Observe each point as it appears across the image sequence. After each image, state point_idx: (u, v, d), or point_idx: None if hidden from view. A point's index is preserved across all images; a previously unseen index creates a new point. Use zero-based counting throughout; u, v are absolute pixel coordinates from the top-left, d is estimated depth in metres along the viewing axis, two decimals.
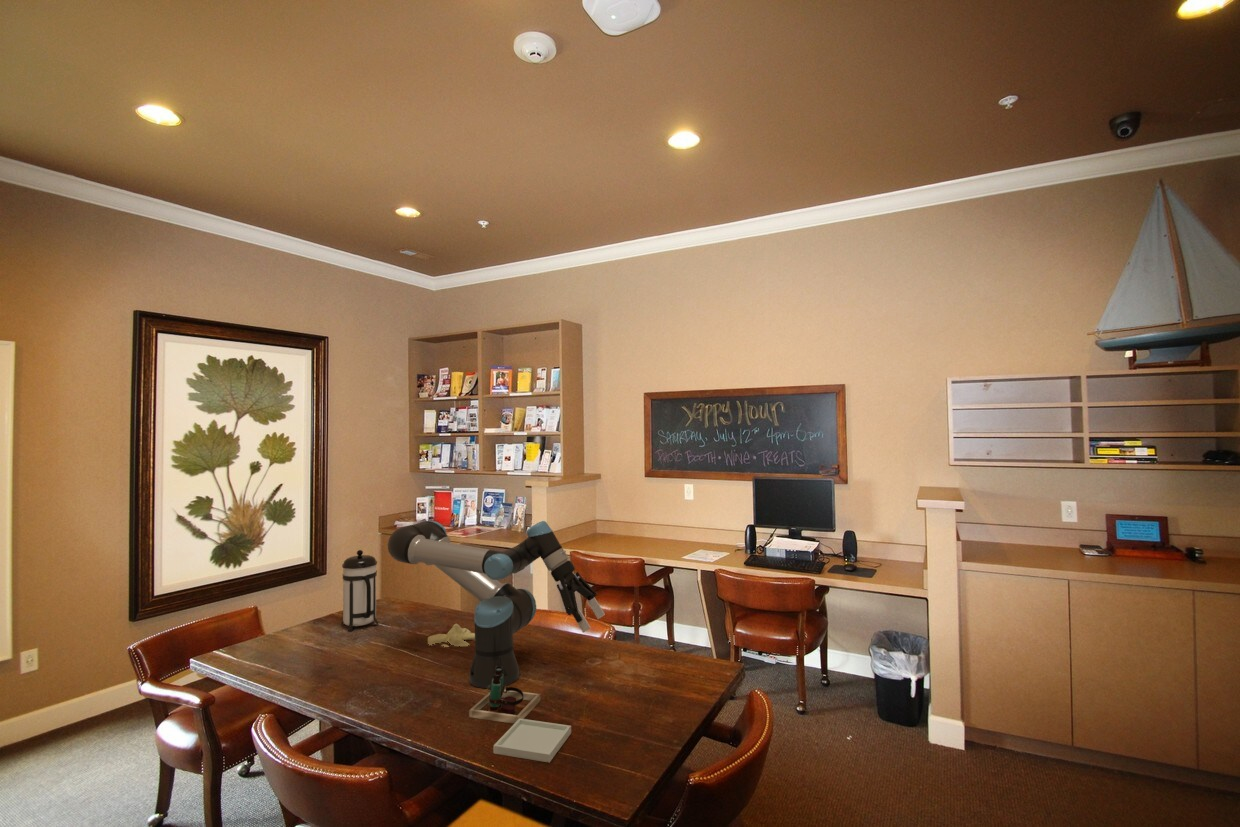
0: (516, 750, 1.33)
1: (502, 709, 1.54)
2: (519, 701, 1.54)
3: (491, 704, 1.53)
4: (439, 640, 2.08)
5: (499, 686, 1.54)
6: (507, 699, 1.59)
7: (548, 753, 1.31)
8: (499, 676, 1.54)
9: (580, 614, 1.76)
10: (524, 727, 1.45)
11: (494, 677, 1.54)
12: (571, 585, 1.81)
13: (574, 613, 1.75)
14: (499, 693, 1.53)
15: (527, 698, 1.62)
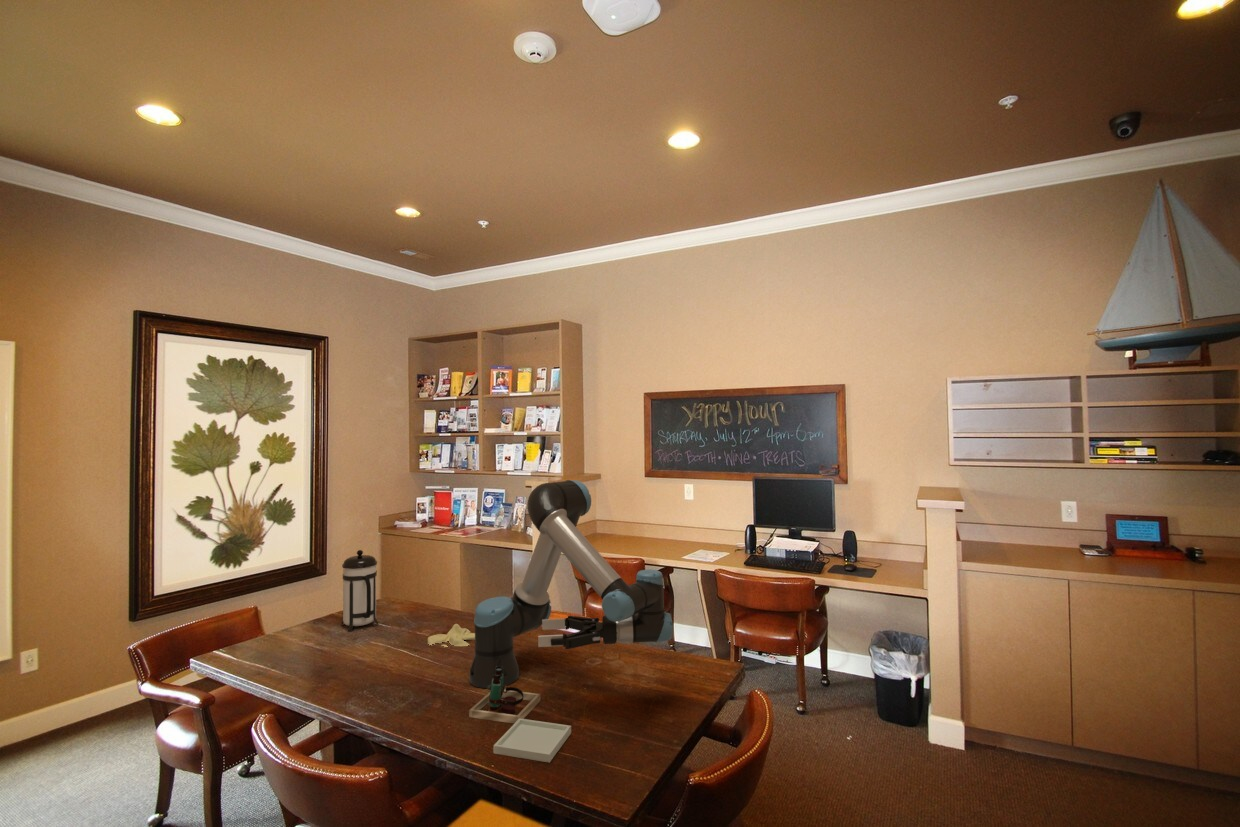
0: (516, 750, 1.33)
1: (502, 709, 1.54)
2: (519, 701, 1.54)
3: (491, 704, 1.53)
4: (439, 640, 2.08)
5: (499, 686, 1.54)
6: (507, 699, 1.59)
7: (548, 753, 1.31)
8: (499, 676, 1.54)
9: (557, 644, 1.51)
10: (524, 727, 1.45)
11: (494, 677, 1.54)
12: None
13: (561, 642, 1.50)
14: (499, 693, 1.53)
15: (527, 698, 1.62)
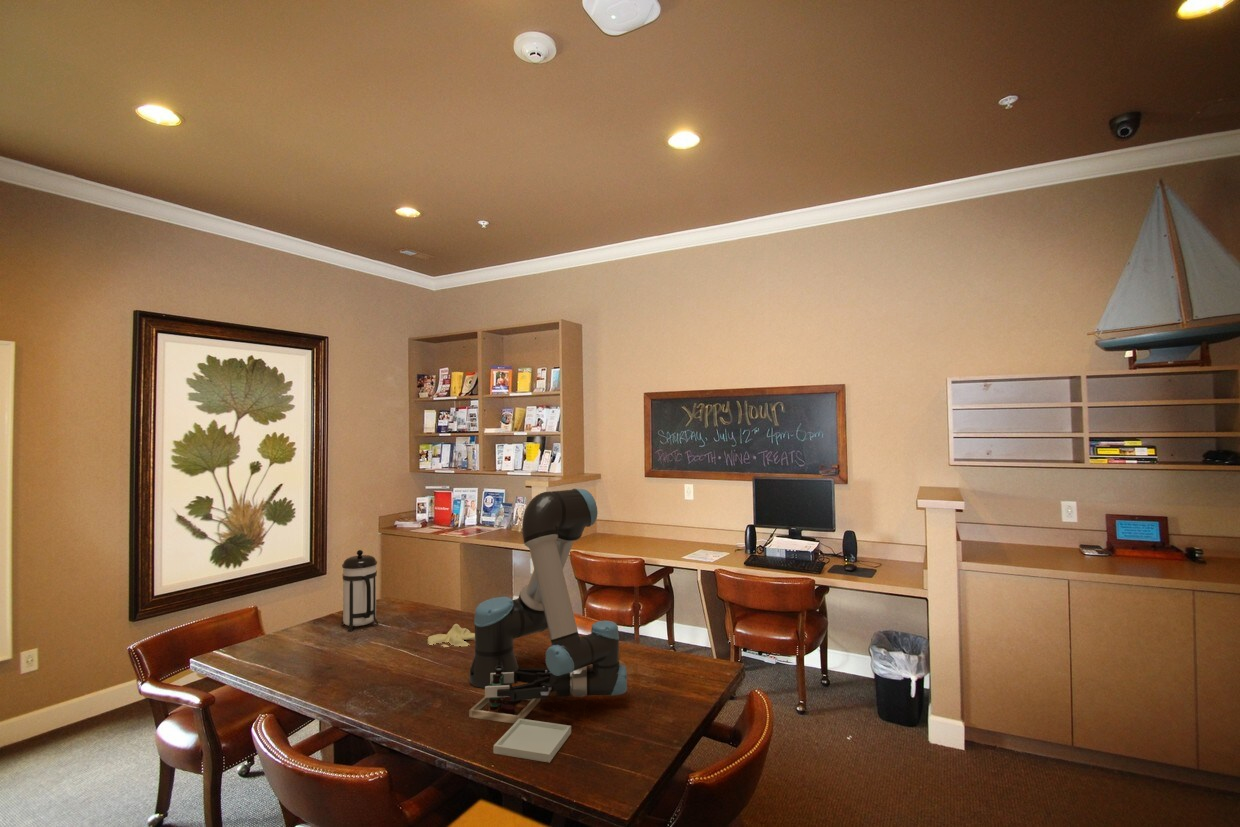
0: (516, 750, 1.33)
1: (502, 709, 1.54)
2: (519, 701, 1.54)
3: (491, 704, 1.53)
4: (439, 640, 2.08)
5: None
6: (507, 699, 1.59)
7: (548, 753, 1.31)
8: (499, 676, 1.54)
9: None
10: (524, 727, 1.45)
11: (494, 677, 1.54)
12: None
13: (508, 693, 1.52)
14: None
15: None
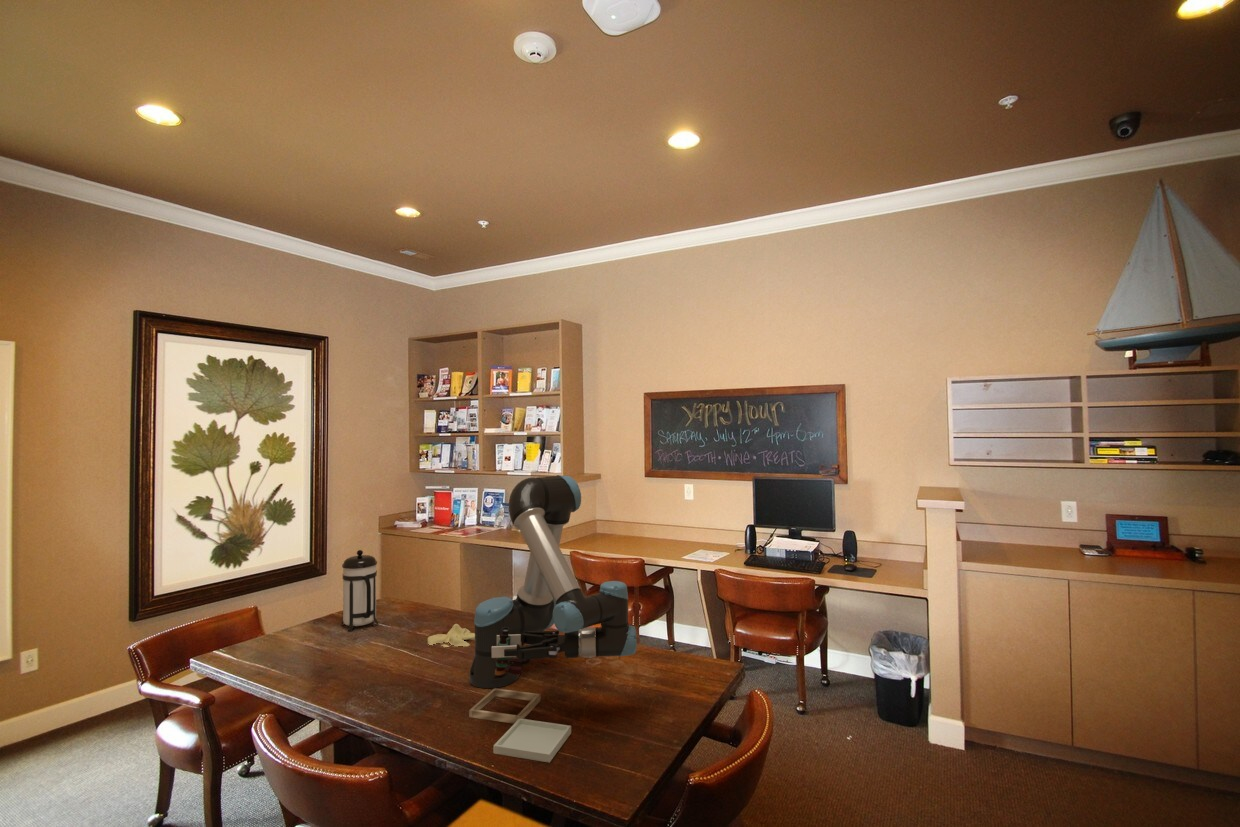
0: (516, 750, 1.33)
1: (509, 669, 1.50)
2: (526, 661, 1.51)
3: (498, 664, 1.49)
4: (439, 640, 2.08)
5: None
6: (514, 661, 1.56)
7: (548, 753, 1.31)
8: (506, 636, 1.51)
9: None
10: (524, 727, 1.45)
11: (501, 637, 1.51)
12: None
13: (515, 653, 1.48)
14: None
15: (527, 698, 1.62)
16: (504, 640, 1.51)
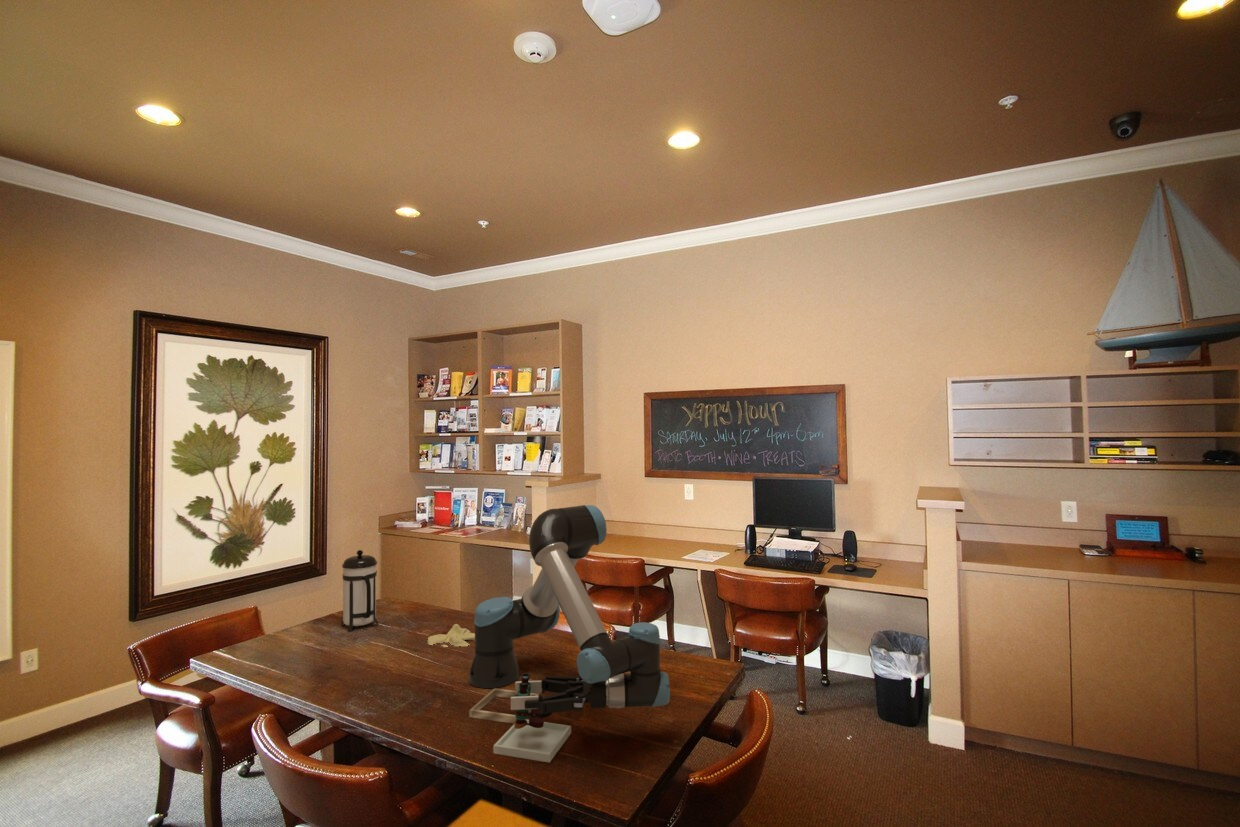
0: (516, 750, 1.33)
1: (530, 722, 1.36)
2: (549, 713, 1.37)
3: (518, 717, 1.35)
4: (439, 640, 2.08)
5: None
6: (535, 710, 1.42)
7: (548, 753, 1.31)
8: (526, 685, 1.37)
9: None
10: (524, 727, 1.45)
11: (521, 686, 1.37)
12: (574, 703, 1.38)
13: (537, 705, 1.34)
14: None
15: None
16: (524, 689, 1.37)
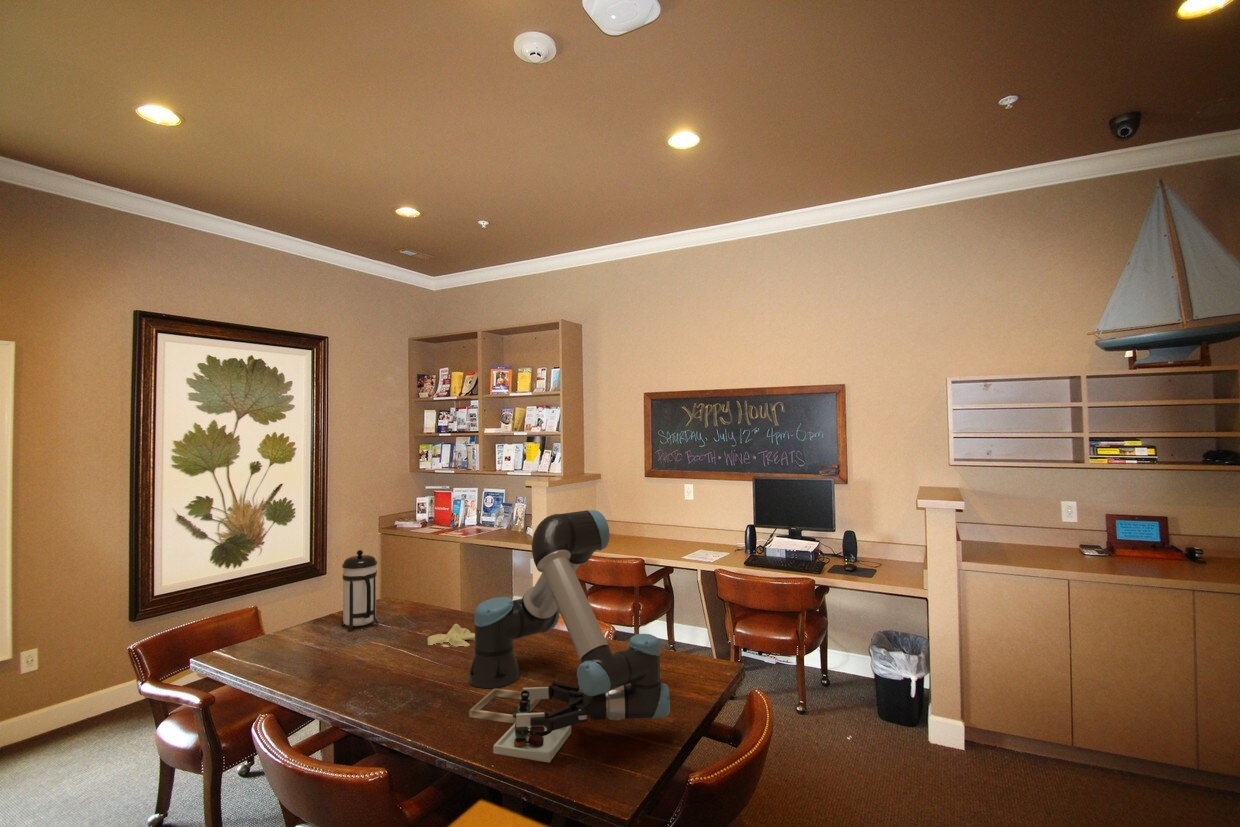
0: (516, 750, 1.33)
1: (530, 740, 1.36)
2: None
3: (517, 735, 1.35)
4: (439, 640, 2.08)
5: None
6: (534, 728, 1.42)
7: (548, 753, 1.31)
8: (526, 703, 1.37)
9: None
10: None
11: (521, 704, 1.37)
12: None
13: (543, 722, 1.32)
14: None
15: None
16: (524, 707, 1.37)
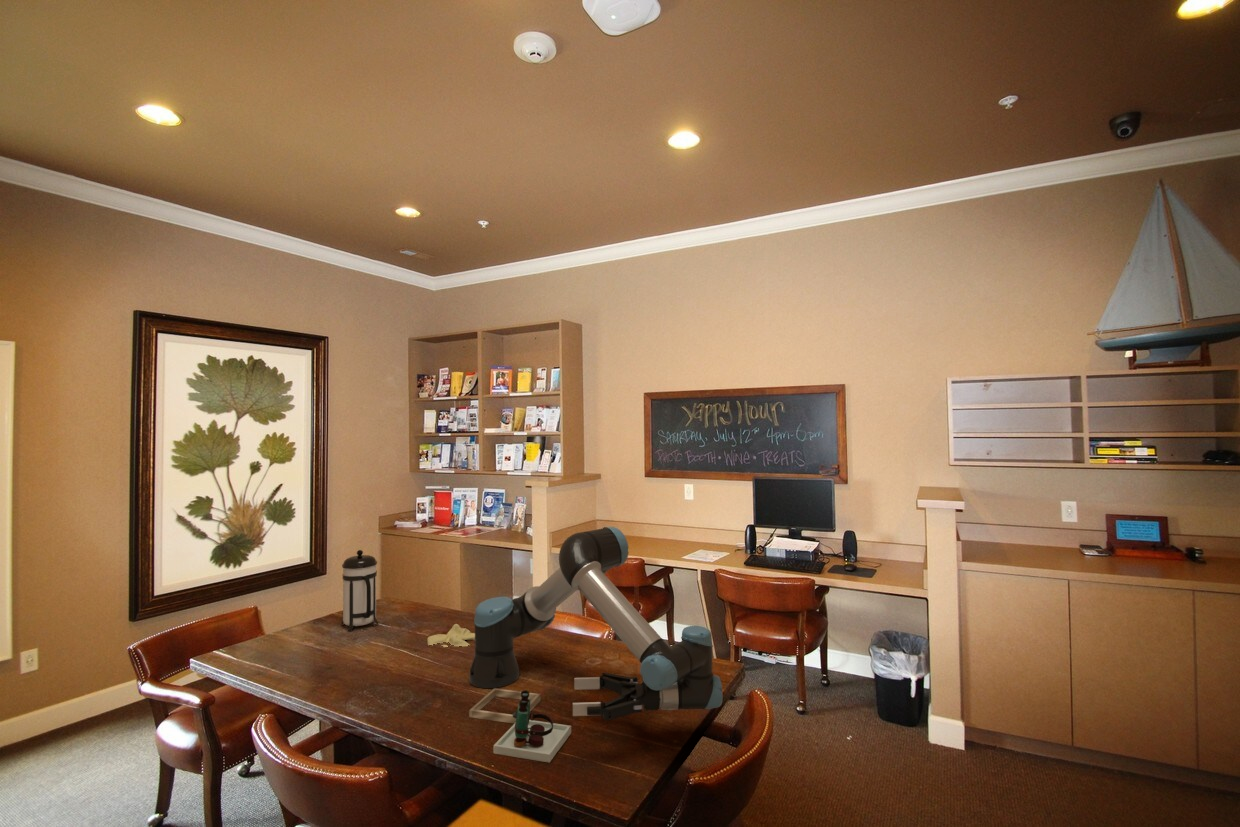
0: (516, 750, 1.33)
1: (530, 740, 1.36)
2: (549, 731, 1.37)
3: (517, 735, 1.35)
4: (439, 640, 2.08)
5: (526, 714, 1.36)
6: (534, 728, 1.42)
7: (548, 753, 1.31)
8: (526, 703, 1.37)
9: None
10: None
11: (521, 704, 1.37)
12: None
13: (599, 712, 1.33)
14: (526, 722, 1.36)
15: None
16: (524, 707, 1.37)
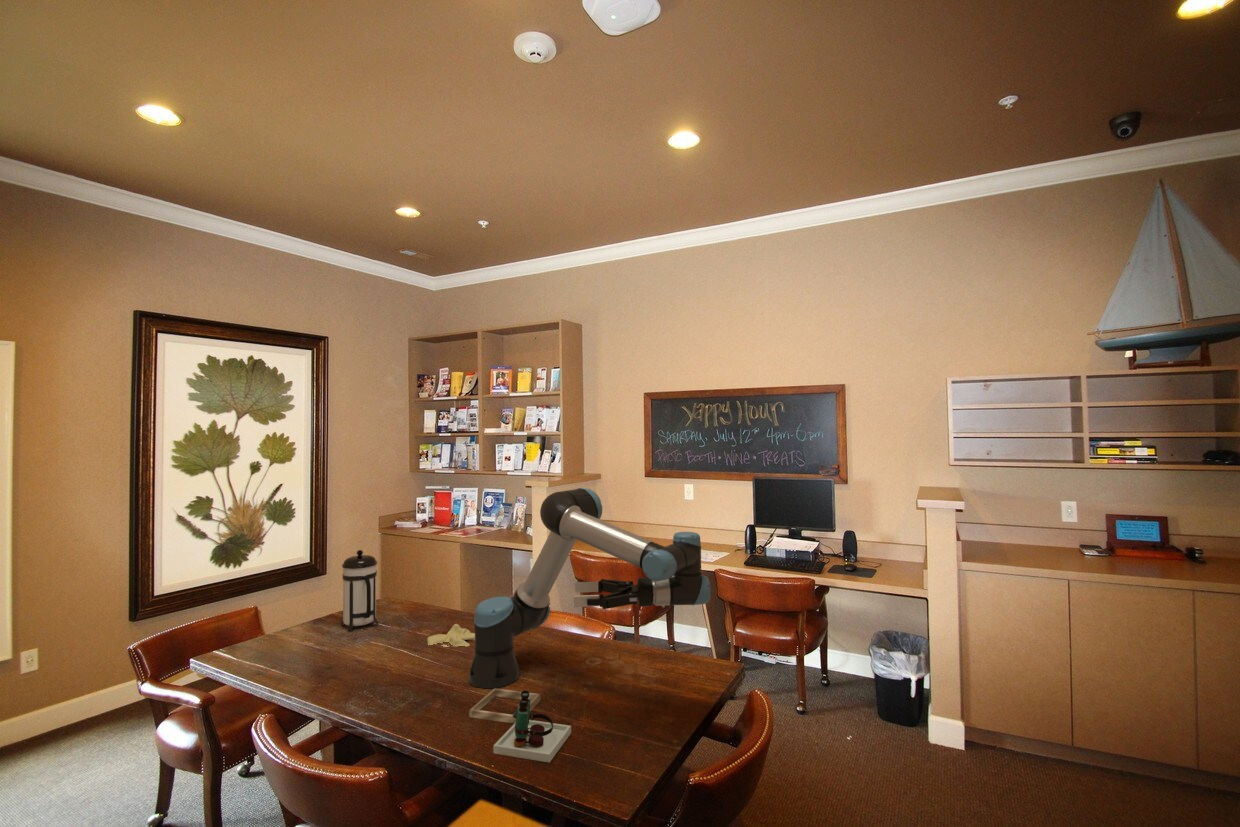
0: (516, 750, 1.33)
1: (530, 740, 1.36)
2: (549, 731, 1.37)
3: (517, 735, 1.35)
4: (439, 640, 2.08)
5: (526, 714, 1.36)
6: (534, 728, 1.42)
7: (548, 753, 1.31)
8: (526, 703, 1.37)
9: (593, 605, 1.47)
10: None
11: (521, 704, 1.37)
12: None
13: (598, 602, 1.46)
14: (526, 722, 1.36)
15: None
16: (524, 707, 1.37)
